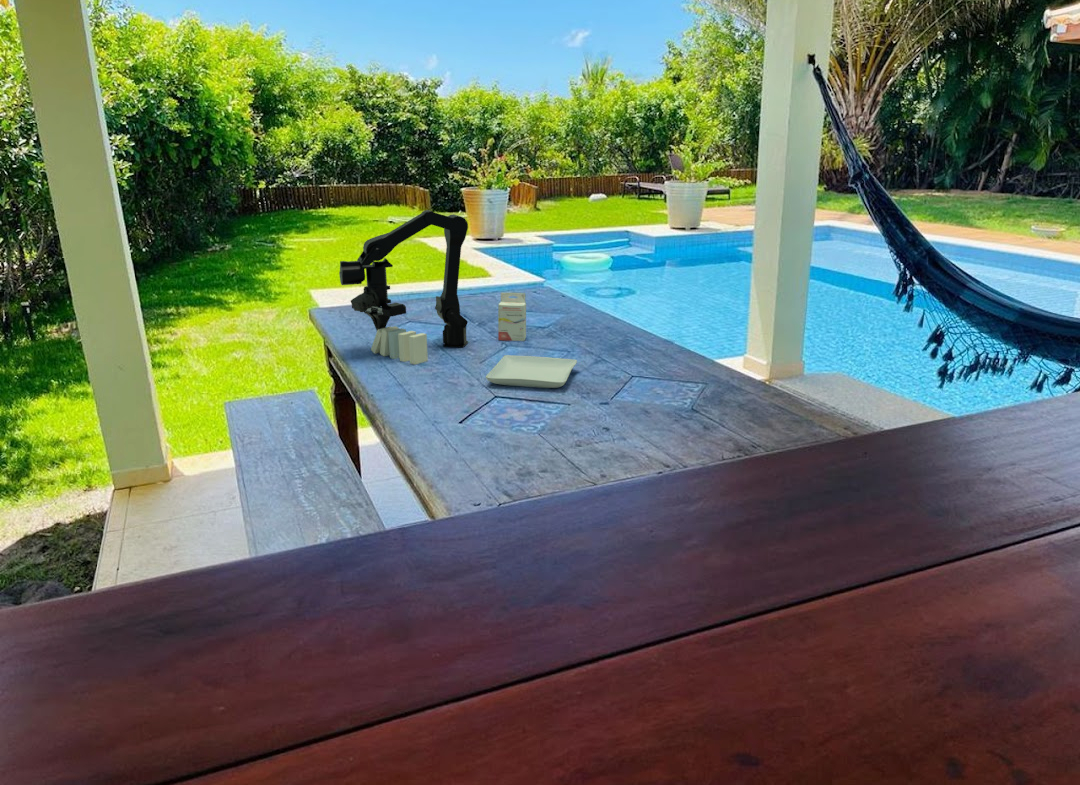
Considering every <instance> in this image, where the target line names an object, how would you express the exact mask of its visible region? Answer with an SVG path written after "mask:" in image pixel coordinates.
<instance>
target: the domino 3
mask: <svg viewBox="0 0 1080 785" xmlns="http://www.w3.org/2000/svg"><path fill="white" fill-rule="evenodd" d="M404 332H407V329H406V328H399V329H397V330H393V331H388V335H389V350H390V355H389V359H392V360H397V359H400V356H399V339H398V334H400V333H404Z"/></svg>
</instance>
